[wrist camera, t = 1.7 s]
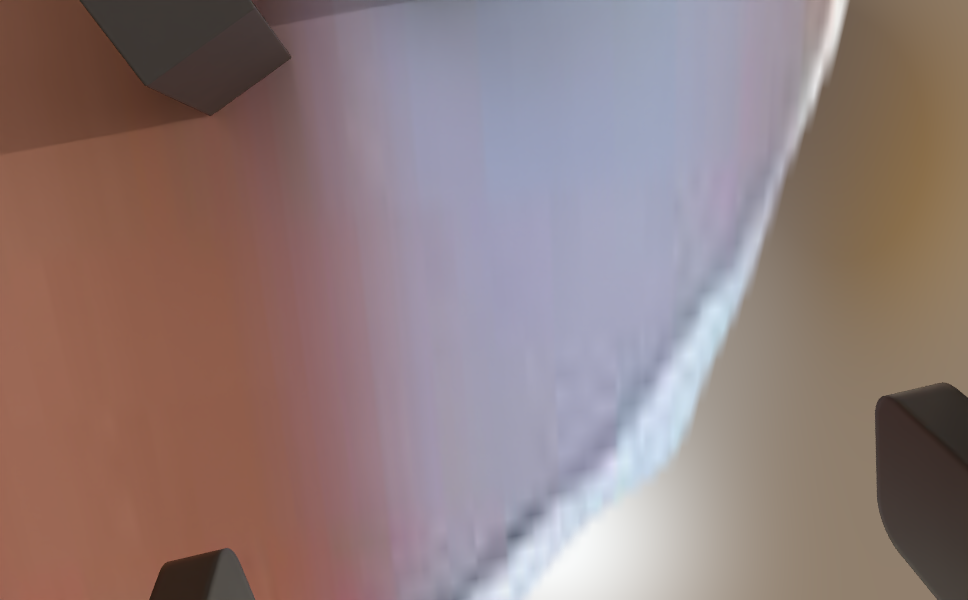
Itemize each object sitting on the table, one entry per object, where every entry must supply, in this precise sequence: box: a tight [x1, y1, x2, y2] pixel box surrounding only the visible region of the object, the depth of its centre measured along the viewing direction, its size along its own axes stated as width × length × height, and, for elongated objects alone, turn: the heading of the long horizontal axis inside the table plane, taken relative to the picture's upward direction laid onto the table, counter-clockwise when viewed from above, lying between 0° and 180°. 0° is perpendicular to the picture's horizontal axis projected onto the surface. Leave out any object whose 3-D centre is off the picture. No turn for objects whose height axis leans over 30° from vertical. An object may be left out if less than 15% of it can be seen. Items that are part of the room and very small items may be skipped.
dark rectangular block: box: [80, 0, 291, 116], centre depth 29 cm, size 4×4×9 cm
